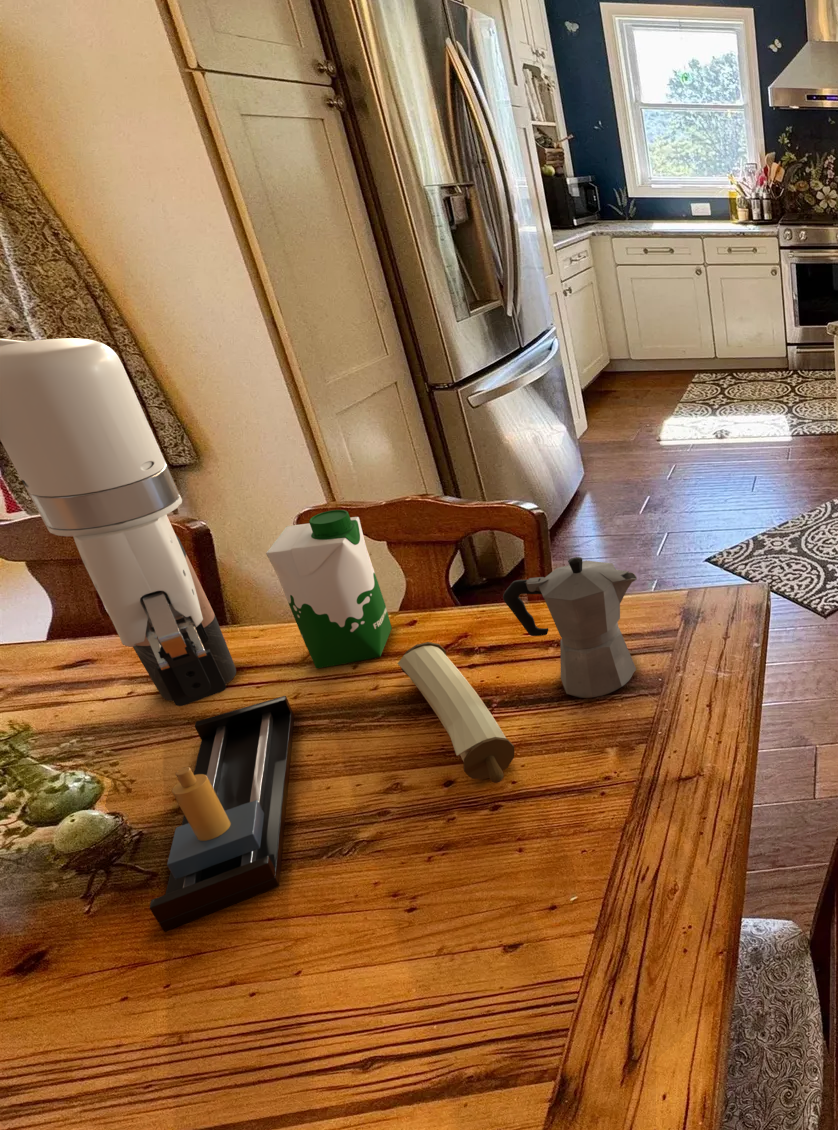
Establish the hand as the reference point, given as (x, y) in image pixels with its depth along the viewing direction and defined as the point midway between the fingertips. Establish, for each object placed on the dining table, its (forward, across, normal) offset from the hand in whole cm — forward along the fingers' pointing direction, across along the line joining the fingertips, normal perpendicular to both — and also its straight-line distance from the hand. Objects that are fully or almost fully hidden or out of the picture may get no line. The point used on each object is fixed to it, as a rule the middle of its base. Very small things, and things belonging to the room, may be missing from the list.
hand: (193, 671), depth 68 cm
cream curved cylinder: (+22, -6, +18) cm, 29 cm away
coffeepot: (+22, -3, +33) cm, 40 cm away
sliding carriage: (+19, -1, -3) cm, 20 cm away
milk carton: (+22, -32, +14) cm, 41 cm away
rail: (+22, -8, -2) cm, 23 cm away
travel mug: (+22, -37, -2) cm, 43 cm away
